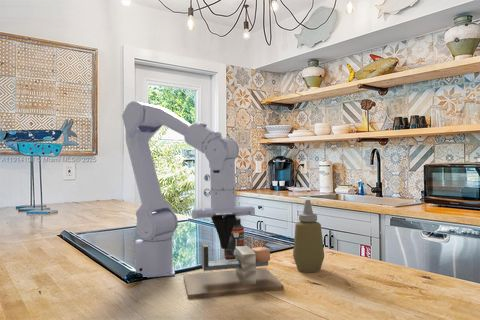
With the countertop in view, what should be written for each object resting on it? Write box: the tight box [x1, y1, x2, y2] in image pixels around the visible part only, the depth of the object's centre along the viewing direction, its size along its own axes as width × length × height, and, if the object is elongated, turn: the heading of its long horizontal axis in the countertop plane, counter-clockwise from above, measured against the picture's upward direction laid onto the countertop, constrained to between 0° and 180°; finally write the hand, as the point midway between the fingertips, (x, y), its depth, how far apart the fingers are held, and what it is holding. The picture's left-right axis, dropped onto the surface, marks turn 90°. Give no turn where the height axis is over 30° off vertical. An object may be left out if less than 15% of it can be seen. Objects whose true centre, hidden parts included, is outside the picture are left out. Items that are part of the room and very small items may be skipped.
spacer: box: [250, 246, 271, 262], centre depth 88 cm, size 4×4×2 cm
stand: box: [183, 245, 285, 299], centre depth 87 cm, size 21×14×8 cm, turn 102°
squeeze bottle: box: [292, 199, 325, 273], centre depth 96 cm, size 8×8×18 cm
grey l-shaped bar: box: [200, 241, 269, 272], centre depth 87 cm, size 15×5×6 cm, turn 102°
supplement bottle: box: [223, 217, 245, 259], centre depth 110 cm, size 6×6×11 cm
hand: (224, 247), depth 86 cm, fingers closed
